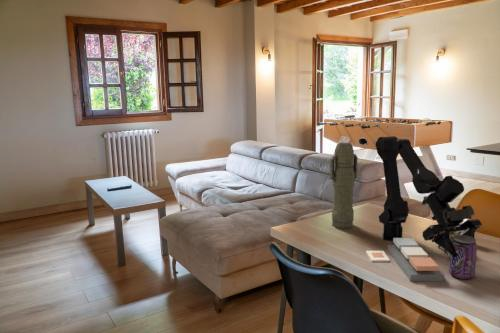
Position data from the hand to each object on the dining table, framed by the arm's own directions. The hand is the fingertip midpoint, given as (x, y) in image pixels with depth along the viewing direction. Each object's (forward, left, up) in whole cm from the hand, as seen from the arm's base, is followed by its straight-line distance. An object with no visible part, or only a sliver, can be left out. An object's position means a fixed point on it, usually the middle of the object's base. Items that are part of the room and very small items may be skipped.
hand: (465, 254), depth 125 cm
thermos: (-38, +41, -7) cm, 56 cm away
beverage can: (0, +1, -7) cm, 7 cm away
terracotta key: (-12, -2, -4) cm, 13 cm away
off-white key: (-14, +6, -4) cm, 16 cm away
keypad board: (-14, +6, -7) cm, 17 cm away
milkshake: (+7, +30, -7) cm, 32 cm away
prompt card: (-25, +10, -7) cm, 28 cm away
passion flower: (-1, +20, -7) cm, 22 cm away
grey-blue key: (-16, +14, -4) cm, 22 cm away
